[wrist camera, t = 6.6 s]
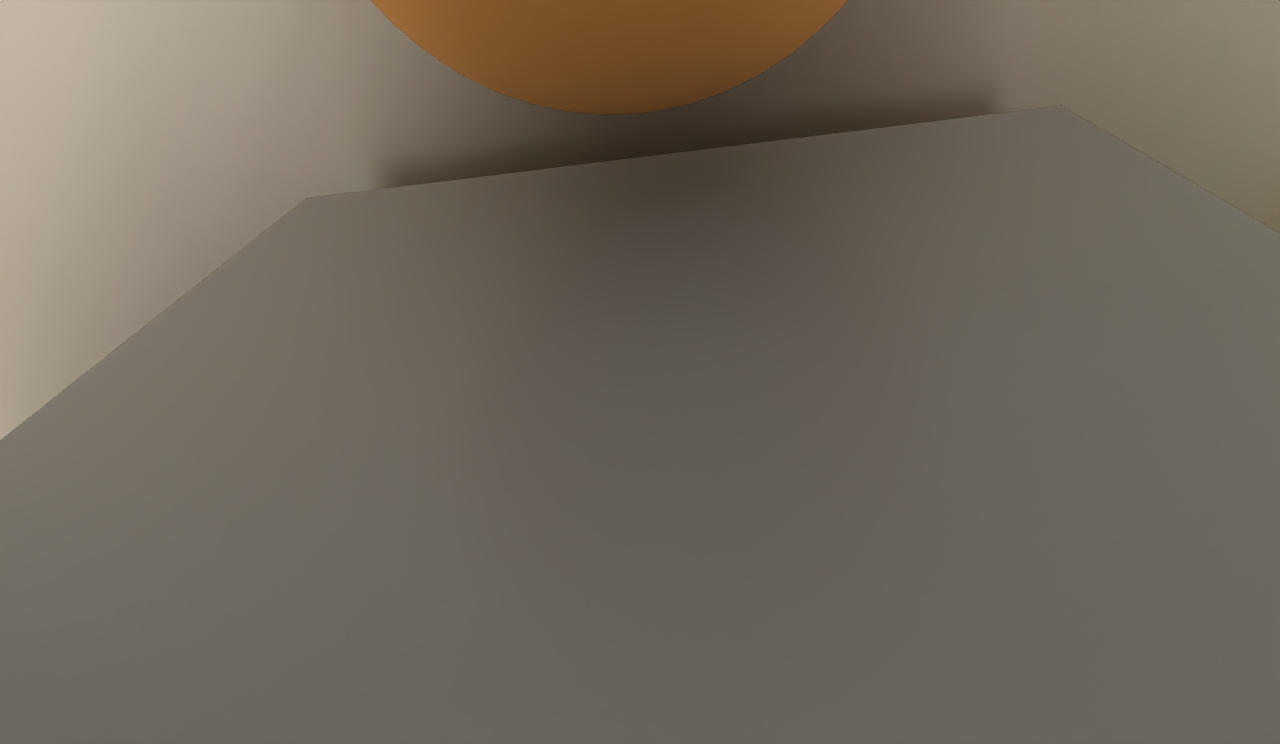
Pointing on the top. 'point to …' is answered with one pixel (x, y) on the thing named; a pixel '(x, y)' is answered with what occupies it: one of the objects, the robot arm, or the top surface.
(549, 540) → the grey block
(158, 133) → the top surface
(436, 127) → the top surface
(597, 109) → the ball
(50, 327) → the top surface
